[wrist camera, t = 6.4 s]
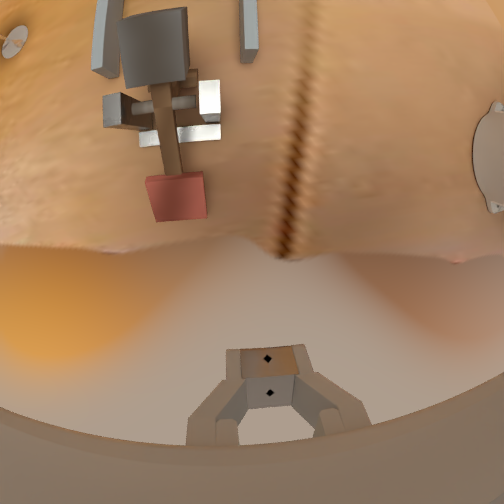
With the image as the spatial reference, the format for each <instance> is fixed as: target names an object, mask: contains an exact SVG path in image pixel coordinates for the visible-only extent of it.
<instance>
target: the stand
mask: <svg viewBox="0 0 504 504" xmlns="http://www.w3.org/2000/svg"><path fill="white" fill-rule="evenodd" d="M137 102H141V101H138V100H136V99H134V98H132V97H130V96H128V95H126V94H123V93H121V92H119V93H114V94H109V95H105V96H103V127H104V128H117V129H129V130H139V131H142V130H149V129H153V115H152V113H147V114H141V115H135V116H133V114H132V104H133V103H137ZM199 105H200V115H201V116H202V118H203V119H204V121H205V122H206V123H220V114H221V110H220V80H207V81H199ZM177 132H178V140H179V143H181V142H192V141H204V140H219V139H221V132H220V124H213V125H199V126H187V127H177ZM139 141H140V147H146V146H154V145H160V143H159V138H158V132H157V130H152V131H145V132H139Z"/></svg>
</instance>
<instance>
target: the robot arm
mask: <svg viewBox="0 0 504 504" xmlns="http://www.w3.org/2000/svg"><path fill="white" fill-rule="evenodd" d="M473 164H474V171H475V176H476V180H477V183H478V185H479V187H480V189H481V191H482V193H483V194H484V196H485V198H486V202H487V207H488V210H489V212H491V213H498V212H501V211H503V210H504V106H503V105H502V104H501V103H500V102H496V101H494V102H493V103H492V106H491V108H490V111H489V113H488V114H487V115H485V116H484V117H483V118H482V119H481V121H480V123H479V125H478V127H477V130H476V133H475V137H474V144H473ZM240 361H241V362H240ZM290 405H292V407H293V408H294V409H295V410H296V411H297V412H298V413H299V414H300V415H301V416H302V417H303V418H304V419H305V420H306V421H307V422H308V423H309V424H310V425H311V426H312V427H313V428H314V429H315V431H314V434H313V438H308V439H302V440H295V441H287V442H278V443H268V444H255V445H239V437H238V428H237V427H238V425H239V424H240V422H241V420H242V419H243V417H244V416H245V414H246V412H247V410H248V409H256V408H265V407H277V406H290ZM0 504H504V372H503V373H501V374H499V375H498V376H496V377H494V378H492V379H490V380H488V381H487V382H484V383H483V384H481V385H478V386H476V387H474V388H472V389H470V390H468V391H466V392H464V393H461V394H459V395H457V396H455V397H453V398H450V399H448V400H445V401H443V402H441V403H438V404H435V405H433V406H430V407H427V408H425V409H422V410H419V411H416V412H413V413H410V414H408V415H405V416H401V417H398V418H395V419H392V420H388V421H385V422H381V423H378V424H374V425H372V424H371V422H370V420H369V417H368V415H367V412H366V410H365V408H364V405H363V403H362V402H361V401H360V400H359V399H357V398H356V397H354V396H352V395H351V394H349V393H348V392H346V391H345V390H343V389H342V388H340V387H339V386H337V385H336V384H334V383H333V382H332V381H330V380H328V379H327V378H326V377H324V376H323V375H321V374H320V373H318V372H314V371H313V368H312V365H311V362H310V359H309V357H308V353H307V351H306V348H305V345H304V344H299V345H291V346H281V347H271V348H270V347H269V348H252V349H227V350H226V380H222V381H221V382H220V383H219V385H218V386H217V387H216V388H215V389H214V390H213V391H212V393H211V394H210V395H209V396H208V397H207V398H206V399H205V400H204V401H203V402H202V404H201V405H200V406H199V407H198V408H197V409H196V410H195V411H194V413H193V414H192V415H191V416H190V417H189V418H188V425H187V436H186V446H184V445H165V444H154V443H144V442H135V441H127V440H120V439H114V438H108V437H102V436H97V435H92V434H87V433H82V432H78V431H74V430H69V429H65V428H62V427H58V426H54V425H50V424H47V423H44V422H40V421H37V420H34V419H31V418H28V417H25V416H22V415H19V414H17V413H14V412H11V411H9V410H6V409H4V408H1V407H0Z"/></svg>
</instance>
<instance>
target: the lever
mask: <svg viewBox="0 0 504 504" xmlns="http://www.w3.org/2000/svg"><path fill="white" fill-rule="evenodd" d="M116 24H117V32H118V40H119V47H120V54H121V61H122V67H123V73H124V79H125V85H126V89H128V88H134V87H139V86H145V85H148V91H149V92H151V95H152V100H150V101H144V102H137V103H133V104H132V114H133V116H135V115H141V114H147V113H154V115H155V121H156V126H157V132H158V138H159V143H160V149H161V154H162V159H163V164H164V169H165V174H166V175H157V176H149V177H146V180H145V185H146V188H147V192H148V195H149V199H150V202H151V206H152V209H153V213H154V216H155V219H156V222H164V221H176V220H188V219H202V218H207V207H206V199H205V189H204V180H203V171H200V172H188V173H183V167H182V161H181V154H180V147H179V140H178V132H177V124H176V117H175V110H179V109H189V108H196V96H195V95H192V96H181V97H178V96H179V92H180V89H181V88H186V87H197V81H198V69H189V66H190V57H189V38H188V15H187V7H179V8H171V9H164V10H158V11H152V12H146V13H141V14H136V15H132V16H129V17H127V18H124V19H122V20H119V21H117V22H116Z"/></svg>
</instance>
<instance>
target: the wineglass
mask: <svg viewBox="0 0 504 504" xmlns="http://www.w3.org/2000/svg"><path fill="white" fill-rule="evenodd" d="M27 36H28V29H27V27H26V26H23V25H21V26H18V27H16V28H15V29H13V30H12V31H11V32H10V33H9V35H8V36H7V37H5V36H3V35H1V34H0V39H2V40H5V41H4V43H3V47H2V55H3V57H5V58H11V57H13V56H14V55H16V54H17V53H18V52H19V51H20V50H21V48H22V47H23V45H24V43H25V41H26V39H27Z"/></svg>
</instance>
